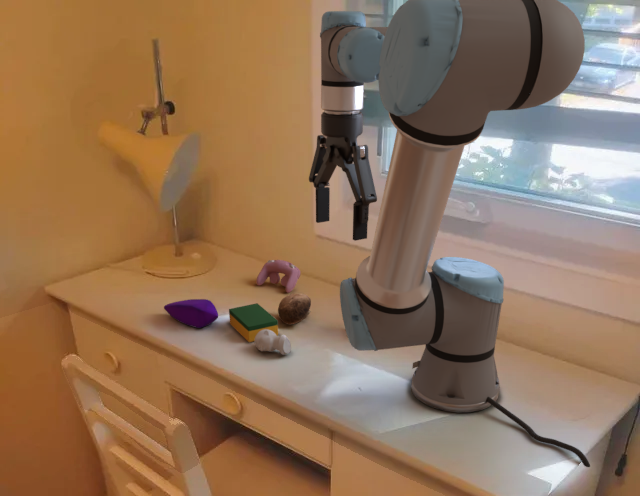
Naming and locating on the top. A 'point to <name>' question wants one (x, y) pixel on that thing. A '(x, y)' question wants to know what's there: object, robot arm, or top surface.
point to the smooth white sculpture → (272, 342)
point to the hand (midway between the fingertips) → (340, 230)
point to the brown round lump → (294, 308)
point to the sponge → (252, 320)
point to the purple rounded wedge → (193, 312)
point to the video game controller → (273, 270)
